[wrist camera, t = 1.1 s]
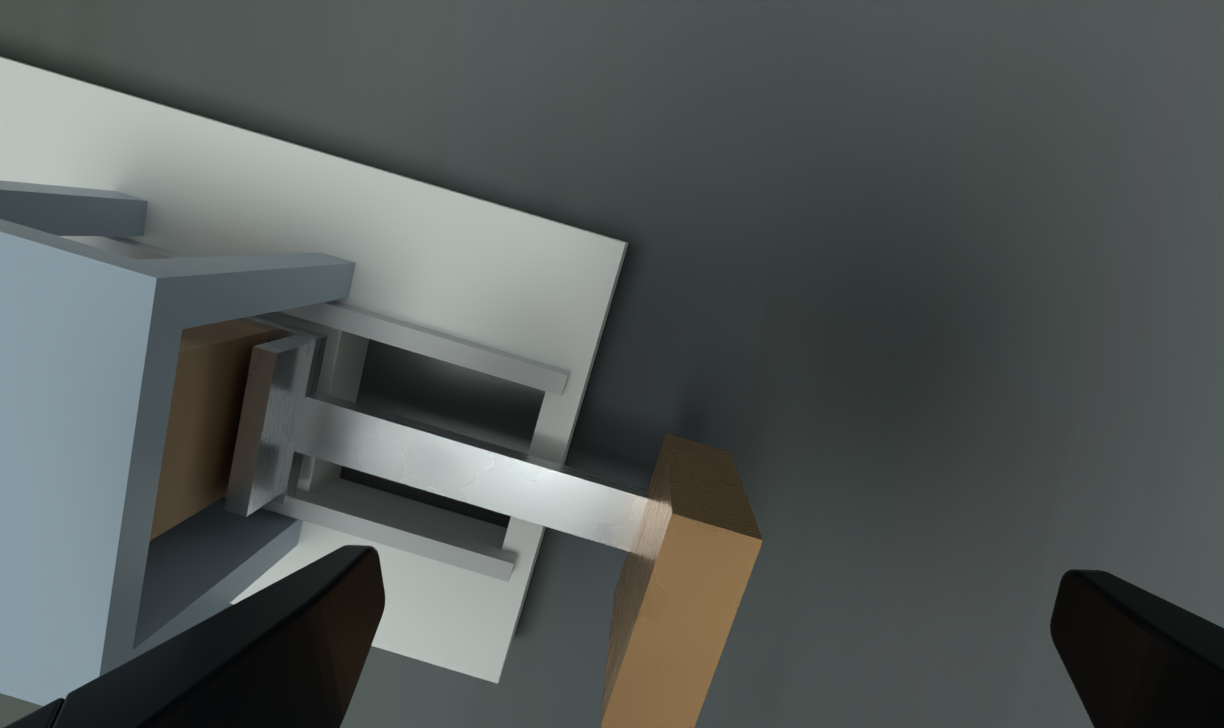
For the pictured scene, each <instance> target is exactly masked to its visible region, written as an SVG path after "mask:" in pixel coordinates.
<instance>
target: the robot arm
mask: <svg viewBox="0 0 1224 728" xmlns="http://www.w3.org/2000/svg"><path fill="white" fill-rule="evenodd" d="M384 608H385V590H384V583H383V577H382V571H381V564H380V558H379V554H378V551H377V549H376V548H374V547H373V546H370V545H344V546H342V547H340V548H338V549H336V550H335V551H333V552H331V553H329V554H327V555H325V556H323V557H322V558H320V559H318V560H316V561H314V562H312V563H310V564H308V565H307V566H305V567H303V568H301V569H299V570H297V571H295V572H294V573H292V574H290V575H288V576H286V577H284V578H282V579H280V580H279V581H277V582H275V583H273V584H271V585H269V586H267V587H266V588H264V589H262V590H260V591H258V592H256V593H254V594H252V595H251V596H249V597H247V598H245V599H243V600H241V601H239V602H238V603H236V604H234V605H232V606H230V607H228V608H226V609H224V610H223V611H221V612H219V613H217V614H215V615H213V616H211V617H210V618H208V619H206V620H204V621H202V622H200V623H198V624H196V625H195V626H193V627H191V628H189V629H187V630H185V631H183V632H181V633H180V634H178V635H176V636H174V637H172V638H170V639H168V640H167V641H165V642H163V643H161V644H159V645H157V646H155V647H153V648H152V649H150V650H148V651H146V652H144V653H142V654H140V655H139V656H137V657H135V658H133V659H131V660H129V661H127V662H125V663H124V664H122V665H120V666H118V667H116V668H114V669H112V670H111V671H109V672H107V673H105V674H103V675H101V676H99V677H97V678H96V679H94V680H92V681H90V682H88V683H86V684H84V685H83V686H81V687H79V688H77V689H75V690H73V691H71V692H70V693H68V694H67V696H66V698H65V699H64V698H58V699H56V700H54V701H52V702H50V703H49V704H47V705H45V706H43V707H41V708H39V709H37V710H36V711H34V712H32V713H30V714H28V715H26V716H24V717H23V718H21V719H19V720H17V721H15V722H13V723H11V724H9V725H7V726H5V727H3V728H340V725H341V723H342V721H343V719H344V716H345V714H346V711H347V709H348V706H349V704H350V701H351V699H352V696H353V693H354V691H355V688H356V685H357V683H358V680H359V677H360V675H361V672H362V669H363V666H364V664H365V661H366V658H367V656H368V653H369V650H370V648H371V645H372V642H373V639H374V637H375V634H376V631H377V629H378V626H379V623H380V621H381V618H382V615H383V612H384ZM1050 630H1051V636H1052V639H1053V642H1054V645H1055V647H1056V649H1057V651H1058V653H1059V655H1060V657H1061V659H1062V661H1063V663H1064V666H1065V668H1066V670H1067V672H1068V674H1069V676H1070V678H1071V680H1072V682H1073V684H1074V686H1075V688H1076V690H1077V693H1078V695H1079V697H1080V699H1081V701H1082V703H1083V705H1084V707H1085V709H1086V711H1087V713H1088V715H1089V718H1090V720H1091V722H1092V724H1093V726H1094V728H1224V628H1222V627H1220V626H1218V625H1216V624H1214V623H1212V622H1210V621H1208V620H1206V619H1204V618H1201V617H1199V616H1197V615H1195V614H1193V613H1191V612H1189V611H1187V610H1185V609H1183V608H1181V607H1179V606H1176V605H1174V604H1172V603H1170V602H1168V601H1166V600H1164V599H1162V598H1160V597H1158V596H1156V595H1154V594H1152V593H1149V592H1147V591H1145V590H1143V589H1141V588H1139V587H1137V586H1135V585H1133V584H1131V583H1129V582H1127V581H1125V580H1122V579H1120V578H1118V577H1116V576H1114V575H1112V574H1110V573H1108V572H1105V571H1100V570H1069V571H1067V572H1066V573H1065V574H1064V575H1063V576H1062V579H1061V582H1060V586H1059V590H1058V594H1057V598H1056V602H1055V606H1054V610H1053V614H1052V618H1051V624H1050Z"/></svg>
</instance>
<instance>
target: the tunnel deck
mask: <svg viewBox="0 0 1224 728" xmlns="http://www.w3.org/2000/svg"><path fill="white" fill-rule="evenodd" d="M628 244H629V243H628V242H625V241H622V240H618V239H615V238H611V237H608V236H605V235H601V234H598V233H595V232H591V231H588V230H585V229H581V228H578V227H574V226H571V225H568V224H564V223H561V222H558V221H554V220H551V219H547V218H544V217H541V216H537V215H534V214H531V213H527V212H524V211H521V210H517V209H514V208H510V207H507V206H504V205H500V204H497V203H494V202H490V201H487V200H483V199H480V198H477V197H473V196H470V195H467V194H463V193H460V192H457V191H453V190H450V189H446V188H443V187H440V186H436V185H433V184H430V183H426V182H423V181H419V180H416V179H413V178H409V177H406V176H403V175H399V174H396V173H393V172H389V171H386V170H382V169H379V168H376V167H372V166H369V165H366V164H362V163H359V162H356V161H352V160H349V159H345V158H342V157H339V156H335V155H332V154H329V153H325V152H322V151H318V150H315V149H312V148H308V147H305V146H302V145H298V144H295V143H292V142H288V141H285V140H281V139H278V138H275V137H271V136H268V135H265V134H261V133H258V132H254V131H251V130H248V129H244V128H241V127H238V126H234V125H231V124H228V123H224V122H221V121H217V120H214V119H211V118H207V117H204V116H201V115H197V114H194V113H190V112H187V111H184V110H180V109H177V108H174V107H170V106H167V105H164V104H160V103H157V102H153V101H150V100H147V99H143V98H140V97H137V96H133V95H130V94H126V93H123V92H120V91H116V90H113V89H110V88H106V87H103V86H100V85H96V84H93V83H89V82H86V81H83V80H79V79H76V78H73V77H69V76H66V75H63V74H59V73H56V72H52V71H49V70H46V69H42V68H39V67H36V66H32V65H29V64H25V63H22V62H19V61H15V60H12V59H9V58H5V57H2V56H0V693H2V694H5V695H9V696H12V697H15V698H19V699H22V700H25V701H29V702H32V703H35V704H39V705H42V706H45V705H47V704H49V703H50V702H52V701H54V700H56V699H58V698H64V699H65V698H66V696H67V694H68V693H70V692H71V691H73V690H75V689H77V688H79V687H81V686H83V685H84V684H86V683H88V682H90V681H92V680H94V679H96V678H97V677H99V676H101V675H103V674H105V673H107V672H109V671H111V670H112V669H114V668H116V667H118V666H120V665H122V664H124V663H125V662H127V661H129V660H131V659H133V658H135V657H137V656H139V655H140V654H142V653H144V652H146V651H148V650H150V649H152V648H153V647H155V646H157V645H159V644H161V643H163V642H165V641H167V640H168V639H170V638H172V637H174V636H176V635H178V634H180V633H181V632H183V631H185V630H187V629H189V628H191V627H193V626H195V625H196V624H198V623H200V622H202V621H204V620H206V619H208V618H210V617H211V616H213V615H215V614H217V613H219V612H220V611H221V610H222V609H224V608H225V607H226V606H227V605H228V604H229V603H231V604H236V603H238V602H239V601H241V600H243V599H245V598H247V597H249V596H251V595H252V594H254V593H256V592H258V591H260V590H262V589H264V588H266V587H267V586H269V585H271V584H273V583H275V582H277V581H279V580H280V579H282V578H284V577H286V576H288V575H290V574H292V573H294V572H295V571H297V570H299V569H301V568H303V567H305V566H307V565H308V564H310V563H312V562H314V561H316V560H318V559H320V558H322V557H323V556H325V555H327V554H329V553H331V552H333V551H335V550H336V549H338V548H340V547H342V546H344V545H370V546H373V547H374V548H376V549H377V551H378V554H379V558H380V564H381V571H382V577H383V583H384V590H385V608H384V612H383V615H382V618H381V621H380V623H379V626H378V629H377V631H376V634H375V637H374V639H373V642H372V645H371V646H374V647H378V648H381V649H384V650H388V651H391V652H394V653H398V654H401V655H404V656H408V657H411V658H414V659H418V660H421V661H424V662H427V663H431V664H434V665H437V666H441V667H444V668H447V669H451V670H454V671H457V672H461V673H464V674H467V675H471V676H474V677H477V678H481V679H484V680H487V681H491V682H494V683H497V684H498V682H499V679H500V676H501V673H502V670H503V667H504V665H505V662H506V659H507V656H508V653H509V650H510V647H511V644H512V642H513V639H514V636H515V632H516V629H517V625H518V622H519V618H520V615H521V612H522V608H523V605H524V601H525V598H526V594H527V591H528V587H529V584H530V581H531V577H532V574H533V570H534V567H535V563H536V560H537V556H538V553H539V550H540V546H541V543H542V539H543V536H544V532H545V529H546V526H542V525H539V524H536V523H532V522H529V521H526V520H522V519H519V518H516V517H512V516H509V515H506V514H502V513H499V512H496V511H492V510H489V509H486V508H482V507H479V506H475V505H472V504H469V503H465V502H462V501H459V500H455V499H452V498H449V497H445V496H442V495H439V494H435V493H432V492H429V491H425V490H422V489H419V488H415V487H412V486H409V485H405V484H402V483H399V482H395V481H392V480H389V479H385V478H382V477H379V476H375V475H372V474H369V473H365V472H362V471H359V470H355V469H352V468H348V467H345V466H342V465H338V464H335V463H332V462H328V461H325V460H322V459H318V458H315V457H312V456H308V455H305V454H304V455H303V460H302V465H301V470H300V475H299V479H298V484H297V489H296V494H295V496H294V497H293V498H291V499H290V500H289V501H287V502H286V503H284V504H281V503H278V502H274V501H269V502H268V503H266V504H265V505H263V506H262V507H260V508H259V509H257V510H256V511H254V512H253V513H252V514H250V515H249V516H247V517H245V516H241V515H238V514H235V513H231V512H228V511H225V510H224V506H225V501H226V496H224V497H222V498H221V499H219V500H217V501H216V502H214V503H212V504H211V505H209V506H207V507H206V508H204V509H202V510H201V511H199V512H197V513H196V514H194V515H192V516H191V517H189V518H187V519H186V520H184V521H182V522H181V523H179V524H177V525H176V526H174V527H172V528H171V529H169V530H167V531H166V532H164V533H162V534H161V535H159V536H157V537H156V538H154V539H152V540H151V541H150V535H151V529H152V522H153V516H154V509H155V503H156V496H157V490H158V484H159V477H160V471H161V464H162V458H163V451H164V445H165V438H166V432H167V426H168V419H169V413H170V406H171V400H172V393H173V387H174V380H175V374H176V367H177V361H178V355H179V348H180V342H181V335H182V329H186V328H191V327H197V326H202V325H207V324H212V323H218V322H223V321H228V320H233V319H239V318H244V317H249V316H255V315H259V316H263V317H266V318H270V319H273V320H276V321H280V322H283V323H286V324H290V325H293V326H296V327H300V328H303V329H306V330H310V331H313V332H316V333H320V334H323V335H327V341H326V346H325V351H324V356H323V361H322V366H321V371H320V376H319V381H318V386H317V390H316V391H318V392H321V393H325V394H328V395H331V396H335V397H338V398H341V399H345V400H348V401H351V402H355V403H358V404H362V405H365V406H368V407H372V408H375V409H378V410H382V411H385V412H388V413H392V414H395V415H398V416H402V417H405V418H408V419H412V420H415V421H418V422H422V423H425V424H428V425H432V426H435V427H439V428H442V429H445V430H449V431H452V432H455V433H459V434H462V435H465V436H469V437H472V438H475V439H479V440H482V441H485V442H489V443H492V444H495V445H499V446H502V447H505V448H509V449H512V450H516V451H519V452H522V453H526V454H529V455H532V456H536V457H539V458H542V459H546V460H549V461H552V462H556V463H559V464H562V465H564V464H565V460H566V457H567V453H568V450H569V446H570V443H571V440H572V436H573V433H574V429H575V426H576V422H577V419H578V416H579V412H580V409H581V405H582V402H583V398H584V395H585V391H586V388H587V385H588V381H589V378H590V374H591V371H592V367H593V364H594V360H595V357H596V354H597V350H598V347H599V343H600V340H601V336H602V333H603V330H604V326H605V323H606V319H607V316H608V312H609V309H610V305H611V302H612V299H613V295H614V292H615V288H616V285H617V281H618V278H619V275H620V271H621V268H622V264H623V261H624V257H625V254H626V250H627V247H628Z"/></svg>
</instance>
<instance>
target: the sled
mask: <svg viewBox="0 0 1224 728" xmlns="http://www.w3.org/2000/svg"><path fill="white" fill-rule="evenodd" d="M233 320H234V321H238V322H241V323H244V324H248V325H251V326H255V327H258V328H261V329H265V330H268V331H269V336H268V341H267V343H264V344H260V345H256V346H253V350H252V355H251V361H250V366H249V372H248V378H247V383H246V389H245V394H244V400H243V406H242V411H241V417H240V422H239V428H238V433H237V439H236V445H235V450H234V456H233V461H232V467H231V473H230V478H229V484H228V489H227V495H226V501H225V506H224V510H225V511H228V512H231V513H235V514H238V515H241V516H245V517H247V516H249V515H250V514H252V513H253V512H254V511H256V510H257V509H259V508H260V507H262V506H263V505H265V504H266V503H268V502H269V501H274V502H278V503H281V504H284V503H286V502H287V501H289V500H290V499H291V498H293V497H294V496H295V494H296V489H297V484H298V479H299V475H300V470H301V465H302V460H303V455H304V454H305V455H308V456H312V457H315V458H318V459H322V460H325V461H328V462H332V463H335V464H338V465H342V466H345V467H348V468H352V469H355V470H359V471H362V472H365V473H369V474H372V475H375V476H379V477H382V478H385V479H389V480H392V481H395V482H399V483H402V484H405V485H409V486H412V487H415V488H419V489H422V490H425V491H429V492H432V493H435V494H439V495H442V496H445V497H449V498H452V499H455V500H459V501H462V502H465V503H469V504H472V505H475V506H479V507H482V508H486V509H489V510H492V511H496V512H499V513H502V514H506V515H509V516H512V517H516V518H519V519H522V520H526V521H529V522H532V523H536V524H539V525H542V526H546V527H549V528H552V529H556V530H559V531H562V532H566V533H569V534H572V535H576V536H579V537H582V538H586V539H589V540H592V541H596V542H599V543H602V544H606V545H609V546H613V547H616V548H619V549H623V550H626V551H628V553H627V556H626V559H625V562H624V566H623V569H622V572H621V575H620V578H619V581H618V584H617V587H616V590H615V594H614V601H613V610H612V619H611V629H610V638H609V648H608V657H607V666H606V676H605V685H604V694H603V704H602V713H601V722H600V728H694V727H695V724H696V721H697V719H698V716H699V713H700V710H701V708H702V705H703V702H704V700H705V697H706V694H707V691H708V689H709V686H710V683H711V681H712V678H713V675H714V672H715V670H716V667H717V664H718V661H719V659H720V656H721V653H722V651H723V648H724V645H725V642H726V640H727V637H728V634H729V632H730V629H731V626H732V623H733V621H734V618H735V615H736V612H737V610H738V607H739V604H740V602H741V599H742V596H743V593H744V591H745V588H746V585H747V582H748V580H749V577H750V574H751V572H752V569H753V566H754V563H755V561H756V558H757V555H758V553H759V550H760V547H761V544H762V542H763V539H762V537H761V534H760V531H759V528H758V526H757V523H756V520H755V518H754V515H753V512H752V510H751V507H750V504H749V501H748V499H747V496H746V493H745V491H744V488H743V485H742V482H741V480H740V477H739V474H738V472H737V469H736V466H735V463H734V461H733V458H732V455H731V453H730V452H728V451H725V450H721V449H718V448H715V447H711V446H708V445H705V444H701V443H698V442H694V441H691V440H688V439H684V438H681V437H678V436H674V435H671V434H668V433H666V435H665V438H664V441H663V444H662V447H661V451H660V454H659V457H658V460H657V463H656V466H655V469H654V472H653V475H652V479H651V482H650V485H649V488H648V490H646V489H643V488H639V487H636V486H633V485H629V484H626V483H623V482H619V481H616V480H613V479H609V478H606V477H603V476H599V475H596V474H592V473H589V472H586V471H582V470H579V469H576V468H572V467H569V466H566V465H562V464H559V463H556V462H552V461H549V460H546V459H542V458H539V457H536V456H532V455H529V454H526V453H522V452H519V451H516V450H512V449H509V448H505V447H502V446H499V445H495V444H492V443H489V442H485V441H482V440H479V439H475V438H472V437H469V436H465V435H462V434H459V433H455V432H452V431H449V430H445V429H442V428H439V427H435V426H432V425H428V424H425V423H422V422H418V421H415V420H412V419H408V418H405V417H402V416H398V415H395V414H392V413H388V412H385V411H382V410H378V409H375V408H372V407H368V406H365V405H362V404H358V403H355V402H351V401H348V400H345V399H341V398H338V397H335V396H331V395H328V394H325V393H321V392H318V391H316V390H317V386H318V381H319V376H320V371H321V366H322V361H323V356H324V351H325V346H326V341H327V335H323V334H320V333H316V332H313V331H310V330H306V329H303V328H300V327H296V326H293V325H290V324H286V323H283V322H280V321H276V320H273V319H270V318H266V317H263V316H259V315H255V316H249V317H244V318H239V319H233Z"/></svg>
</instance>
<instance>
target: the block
mask: <svg viewBox="0 0 1224 728" xmlns="http://www.w3.org/2000/svg"><path fill="white" fill-rule="evenodd" d="M268 336H269V331H268V330H265V329H261V328H258V327H255V326H251V325H248V324H244V323H241V322H238V321H234V320H228V321H223V322H218V323H212V324H207V325H202V326H197V327H191V328H186V329H182V335H181V342H180V348H179V355H178V361H177V367H176V374H175V380H174V387H173V393H172V400H171V406H170V413H169V419H168V426H167V432H166V438H165V445H164V451H163V458H162V464H161V471H160V477H159V484H158V490H157V496H156V503H155V509H154V516H153V522H152V529H151V535H150V541H151V540H152V539H154V538H156V537H157V536H159V535H161V534H162V533H164V532H166V531H167V530H169V529H171V528H172V527H174V526H176V525H177V524H179V523H181V522H182V521H184V520H186V519H187V518H189V517H191V516H192V515H194V514H196V513H197V512H199V511H201V510H202V509H204V508H206V507H207V506H209V505H211V504H212V503H214V502H216V501H217V500H219V499H221V498H222V497H224V496H226V495H227V489H228V484H229V478H230V473H231V467H232V461H233V456H234V450H235V445H236V439H237V433H238V428H239V422H240V417H241V411H242V406H243V400H244V394H245V389H246V383H247V378H248V372H249V366H250V361H251V355H252V350H253V346H256V345H260V344H264V343H267V341H268Z"/></svg>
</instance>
